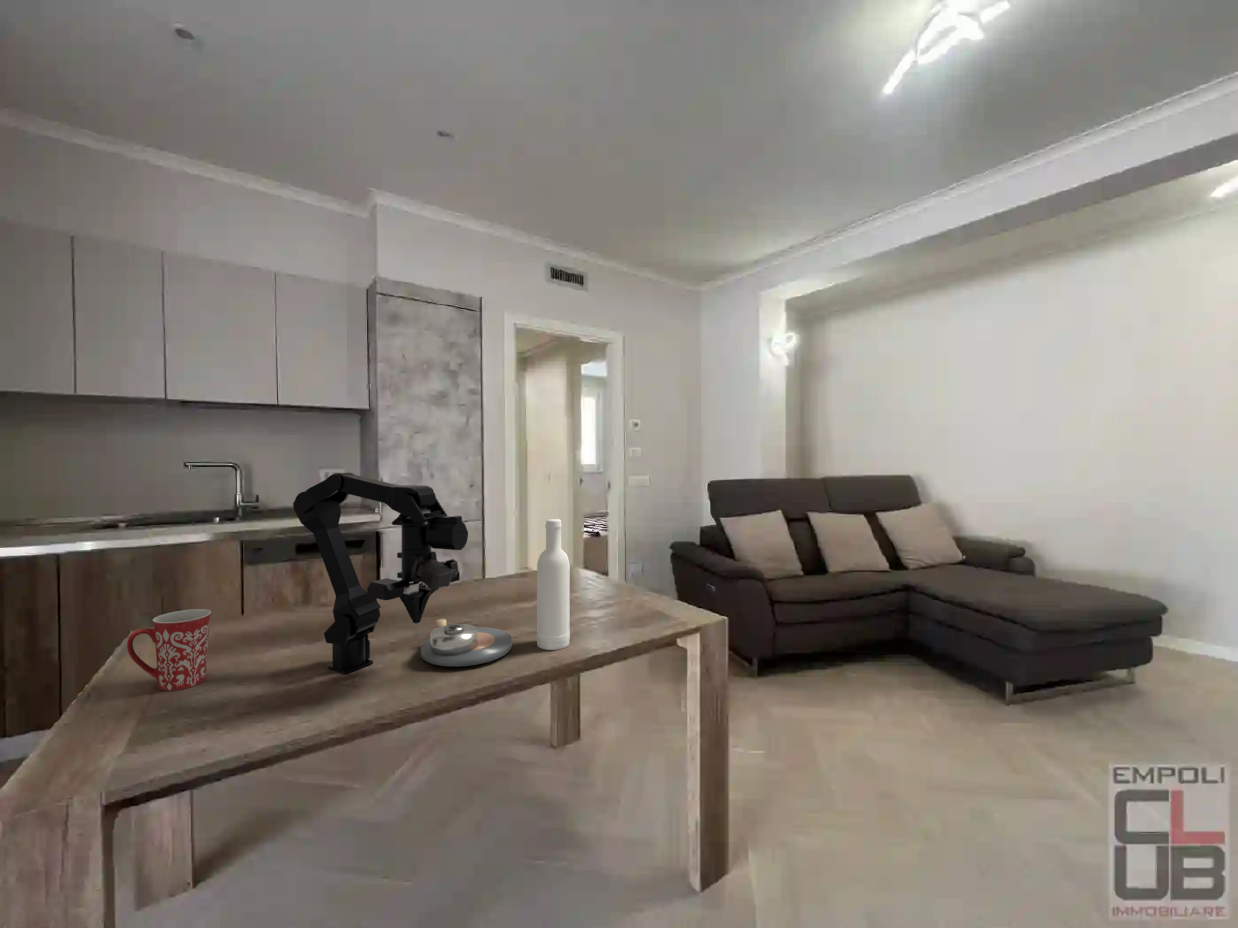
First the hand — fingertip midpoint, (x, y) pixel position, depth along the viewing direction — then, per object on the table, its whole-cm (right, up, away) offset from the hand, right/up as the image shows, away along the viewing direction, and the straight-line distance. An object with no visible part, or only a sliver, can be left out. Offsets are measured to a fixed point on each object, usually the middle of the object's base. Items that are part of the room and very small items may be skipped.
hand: (416, 622), depth 108 cm
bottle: (+26, -11, +18) cm, 33 cm away
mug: (-46, -11, -5) cm, 48 cm away
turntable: (+7, -11, +12) cm, 18 cm away
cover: (+5, -8, +9) cm, 13 cm away
